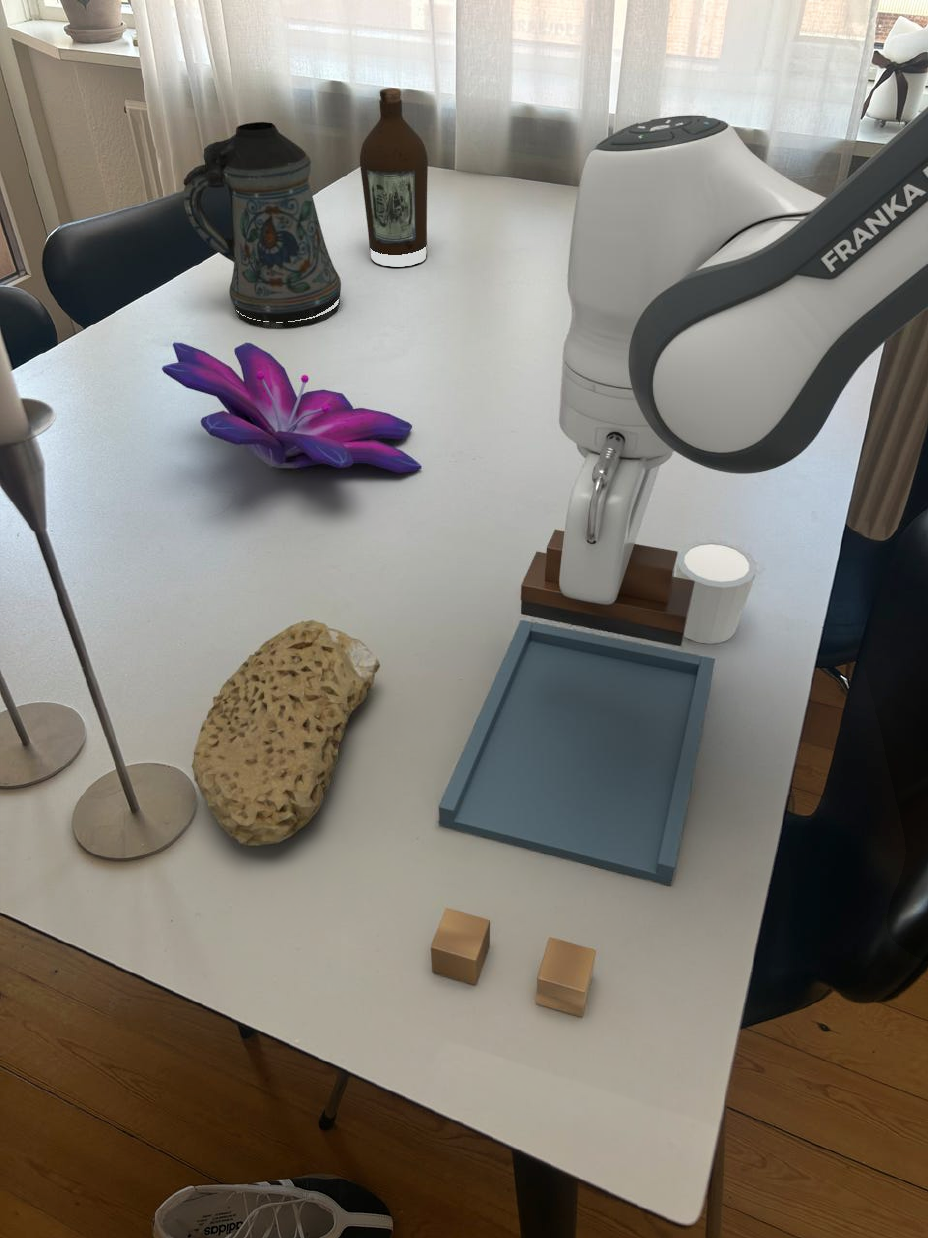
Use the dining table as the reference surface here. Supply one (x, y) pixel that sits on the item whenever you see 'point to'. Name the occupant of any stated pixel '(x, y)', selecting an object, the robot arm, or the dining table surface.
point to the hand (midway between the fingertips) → (610, 574)
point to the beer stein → (267, 228)
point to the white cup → (715, 588)
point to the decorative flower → (288, 414)
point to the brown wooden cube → (460, 946)
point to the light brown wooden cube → (565, 976)
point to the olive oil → (394, 181)
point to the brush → (642, 604)
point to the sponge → (280, 731)
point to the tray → (584, 751)
